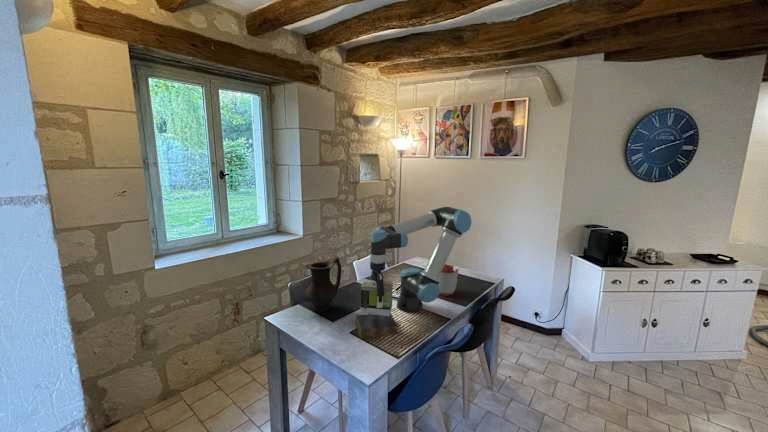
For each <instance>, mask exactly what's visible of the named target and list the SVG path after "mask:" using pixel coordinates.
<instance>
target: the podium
mask: <svg viewBox="0 0 768 432" xmlns="http://www.w3.org/2000/svg"><path fill="white" fill-rule="evenodd" d="M355 326H356V328H357V332H358V335H359V338H360V339H368V338H375V337H376V338H377V337H384V336H385V337H386V336H392V335H393V336H394V335H398V334H399V326H398V324H397V322H396V320H395V318H394V316H393V315H392V312H390V316H383V315H373V314H358V315H355Z"/></svg>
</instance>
